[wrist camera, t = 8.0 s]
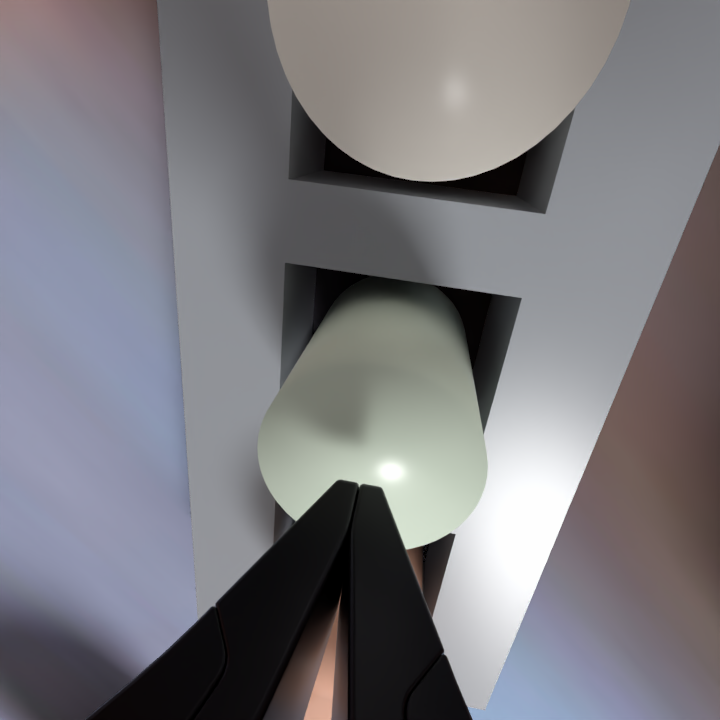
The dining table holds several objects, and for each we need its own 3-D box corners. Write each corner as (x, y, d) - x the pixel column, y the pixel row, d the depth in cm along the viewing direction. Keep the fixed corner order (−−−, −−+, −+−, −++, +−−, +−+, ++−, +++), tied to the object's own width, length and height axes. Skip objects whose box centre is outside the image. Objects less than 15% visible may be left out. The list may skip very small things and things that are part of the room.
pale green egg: (480, 285, 14) (515, 385, 8) (449, 416, 16) (460, 569, 10) (328, 263, 15) (259, 343, 9) (317, 393, 17) (255, 529, 11)
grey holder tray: (768, -227, 10) (961, -439, 6) (476, 618, 22) (484, 710, 19) (227, -260, 11) (126, -461, 7) (235, 569, 23) (199, 647, 19)
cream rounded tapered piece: (559, -48, 11) (713, -275, 5) (506, 174, 13) (570, 201, 7) (355, -66, 11) (270, -297, 5) (337, 152, 13) (262, 160, 7)
